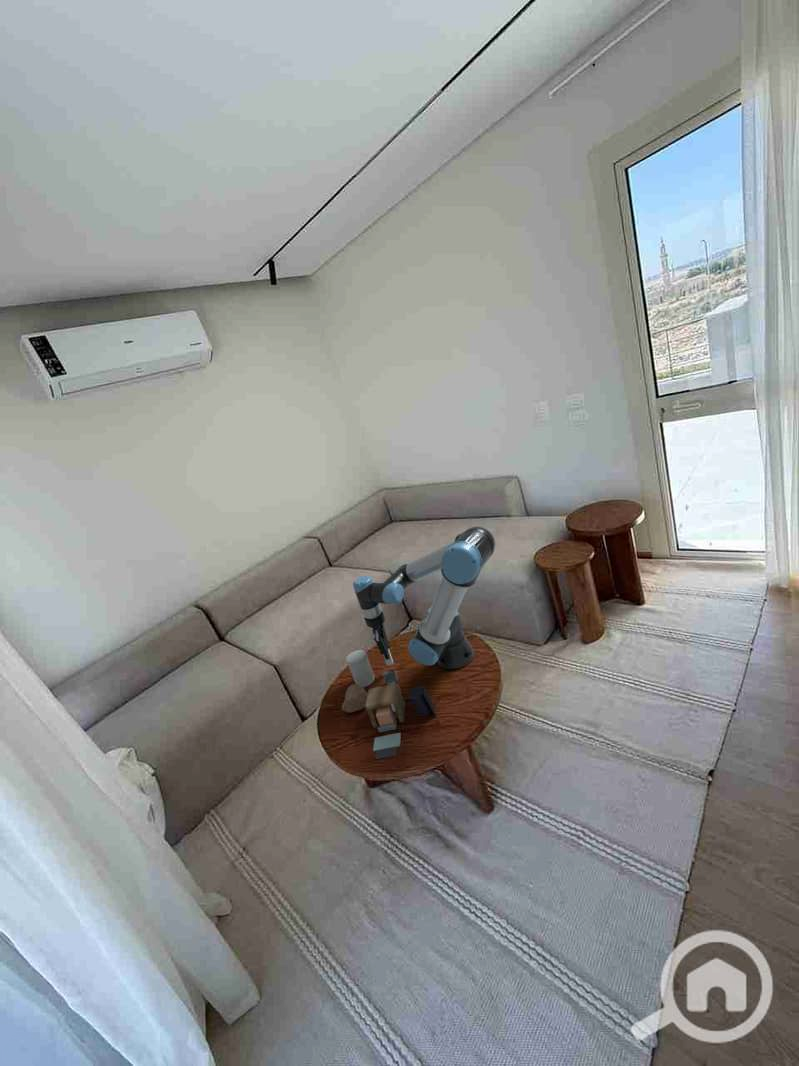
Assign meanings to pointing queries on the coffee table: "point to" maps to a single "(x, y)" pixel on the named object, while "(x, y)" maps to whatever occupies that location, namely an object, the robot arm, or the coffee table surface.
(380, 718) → the block
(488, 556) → the robot arm
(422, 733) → the coffee table surface
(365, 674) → the cup
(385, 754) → the pad
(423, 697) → the speaker
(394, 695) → the tunnel
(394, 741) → the pad
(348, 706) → the stone
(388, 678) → the grey square dumbbell
